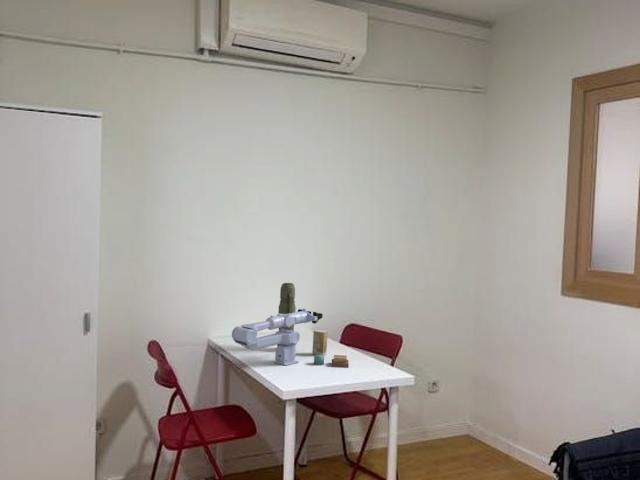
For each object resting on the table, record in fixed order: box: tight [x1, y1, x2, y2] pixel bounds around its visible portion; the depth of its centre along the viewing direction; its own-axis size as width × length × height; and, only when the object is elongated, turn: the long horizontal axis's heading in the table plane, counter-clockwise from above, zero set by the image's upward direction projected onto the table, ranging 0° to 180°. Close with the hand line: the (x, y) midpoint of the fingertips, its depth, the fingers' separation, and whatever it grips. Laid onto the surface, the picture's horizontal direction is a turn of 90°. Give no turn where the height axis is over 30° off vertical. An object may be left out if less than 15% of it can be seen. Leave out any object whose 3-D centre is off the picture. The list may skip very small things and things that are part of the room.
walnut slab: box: [330, 358, 350, 369], centre depth 270 cm, size 8×8×2 cm
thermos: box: [276, 282, 297, 347], centre depth 296 cm, size 9×12×35 cm
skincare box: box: [311, 329, 329, 356], centre depth 289 cm, size 6×4×12 cm
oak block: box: [333, 354, 348, 363], centre depth 270 cm, size 6×6×2 cm
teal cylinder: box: [313, 355, 325, 366], centre depth 270 cm, size 5×5×4 cm
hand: (316, 314), depth 285 cm, fingers open, 7 cm apart
